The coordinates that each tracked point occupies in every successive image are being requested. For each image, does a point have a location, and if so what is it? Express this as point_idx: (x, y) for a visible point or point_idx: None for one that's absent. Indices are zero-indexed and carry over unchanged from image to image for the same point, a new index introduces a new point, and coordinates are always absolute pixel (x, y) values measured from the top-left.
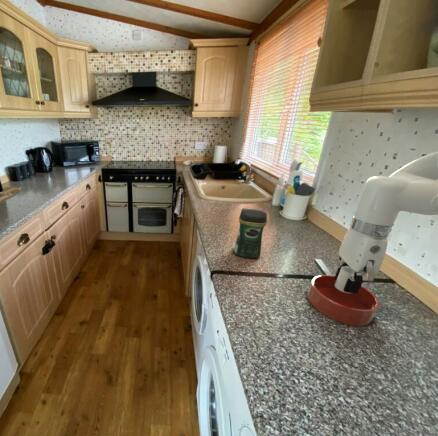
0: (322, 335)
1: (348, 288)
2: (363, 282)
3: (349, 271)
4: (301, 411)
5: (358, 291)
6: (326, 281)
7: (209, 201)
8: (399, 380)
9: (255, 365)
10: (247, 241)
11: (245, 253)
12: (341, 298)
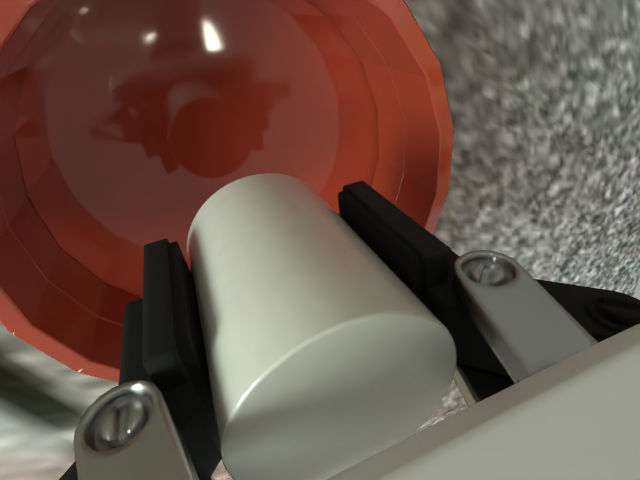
0: (458, 243)
1: None
2: (498, 259)
3: (389, 421)
4: (620, 272)
5: (371, 187)
6: (45, 281)
7: None
8: (612, 31)
9: None
10: None
11: None
12: (144, 144)
